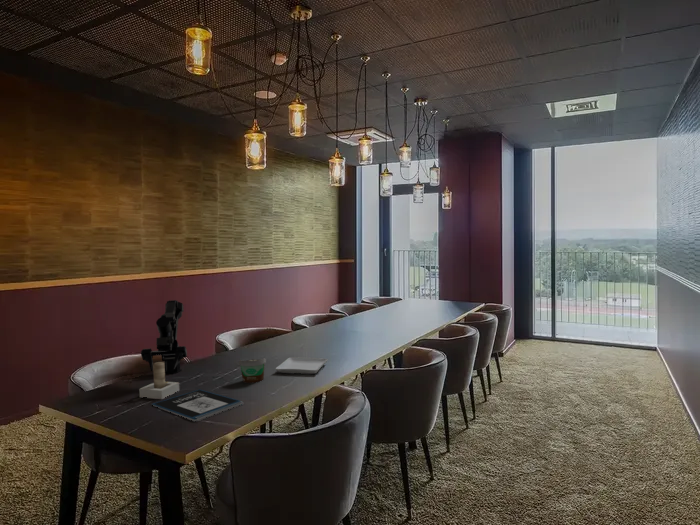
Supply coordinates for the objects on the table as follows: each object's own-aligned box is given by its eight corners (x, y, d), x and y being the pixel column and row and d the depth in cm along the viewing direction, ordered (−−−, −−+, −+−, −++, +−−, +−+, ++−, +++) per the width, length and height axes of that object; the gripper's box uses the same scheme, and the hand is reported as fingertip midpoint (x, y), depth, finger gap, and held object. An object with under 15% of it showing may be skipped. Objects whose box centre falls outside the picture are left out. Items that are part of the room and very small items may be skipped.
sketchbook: (199, 392, 198) (199, 387, 197) (245, 406, 179) (244, 400, 179) (151, 406, 181) (151, 401, 181) (196, 423, 162) (196, 418, 162)
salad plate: (317, 376, 215) (317, 369, 215) (274, 375, 219) (274, 368, 219) (328, 364, 236) (328, 358, 236) (289, 363, 240) (289, 357, 240)
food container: (239, 385, 204) (239, 362, 203) (239, 381, 210) (238, 359, 209) (268, 382, 207) (267, 360, 207) (266, 378, 213) (266, 357, 213)
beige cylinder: (152, 393, 195) (151, 363, 194) (163, 391, 198) (162, 361, 197) (156, 396, 191) (155, 365, 191) (167, 393, 194) (166, 363, 194)
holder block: (139, 397, 191) (139, 388, 191) (157, 388, 201) (157, 380, 201) (162, 399, 188) (161, 390, 187) (179, 390, 198) (179, 382, 198)
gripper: (140, 331, 205) (136, 362, 194) (185, 328, 209) (182, 358, 199) (145, 344, 213) (141, 375, 202) (187, 342, 217) (185, 371, 207)
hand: (162, 369), depth 202 cm, fingers open, 9 cm apart
